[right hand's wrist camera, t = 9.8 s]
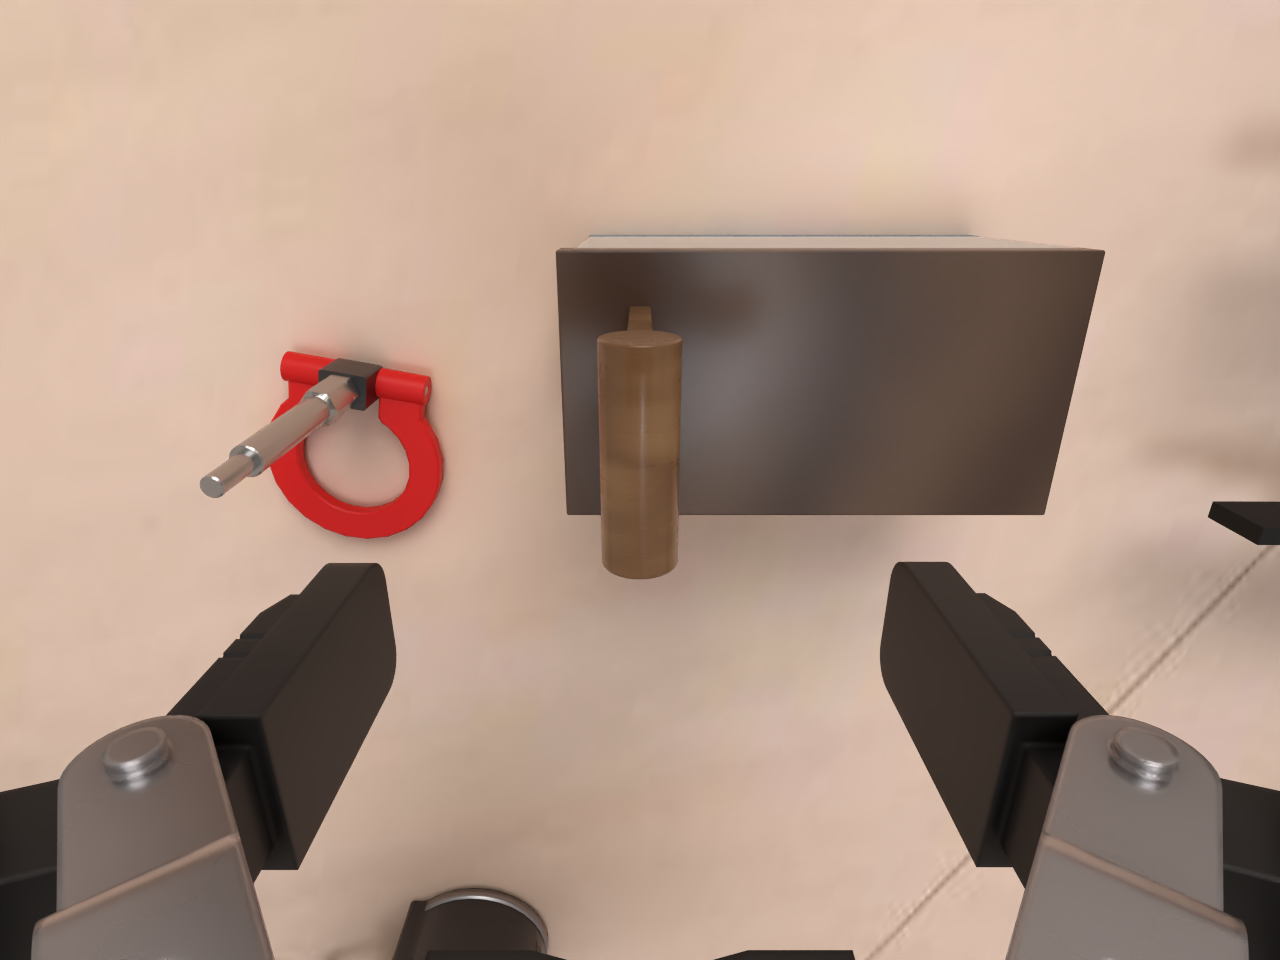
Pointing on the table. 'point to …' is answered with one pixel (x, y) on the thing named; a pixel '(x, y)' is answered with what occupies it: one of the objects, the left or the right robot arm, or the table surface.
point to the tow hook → (319, 402)
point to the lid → (812, 383)
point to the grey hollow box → (804, 241)
